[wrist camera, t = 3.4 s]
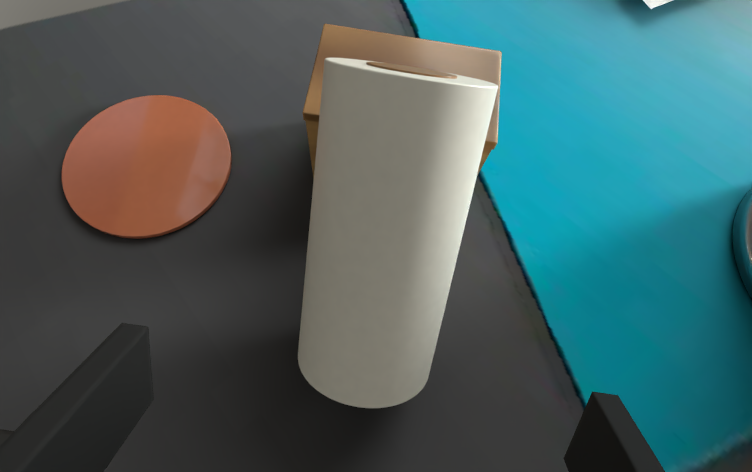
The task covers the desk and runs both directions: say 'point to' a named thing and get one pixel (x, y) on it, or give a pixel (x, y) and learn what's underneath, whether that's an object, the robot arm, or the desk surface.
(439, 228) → the paper roll
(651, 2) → the touchpad
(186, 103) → the coaster
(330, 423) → the desk surface
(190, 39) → the desk surface
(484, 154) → the oak box
